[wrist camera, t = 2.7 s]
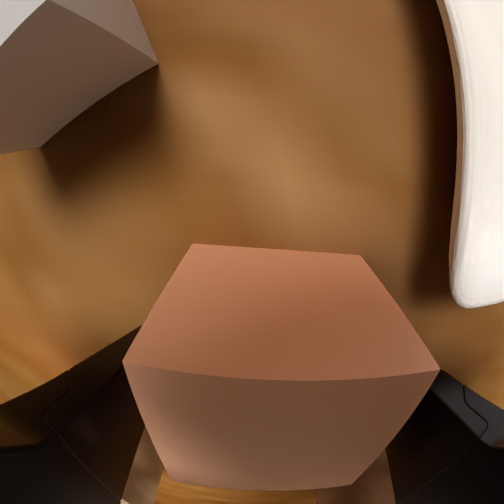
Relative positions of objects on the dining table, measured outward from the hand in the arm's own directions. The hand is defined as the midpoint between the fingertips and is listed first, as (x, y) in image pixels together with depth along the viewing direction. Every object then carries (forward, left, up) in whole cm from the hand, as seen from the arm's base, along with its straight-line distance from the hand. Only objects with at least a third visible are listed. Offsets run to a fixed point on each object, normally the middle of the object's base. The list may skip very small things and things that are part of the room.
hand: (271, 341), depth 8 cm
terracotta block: (0, 0, -1) cm, 1 cm away
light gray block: (+9, +7, -1) cm, 11 cm away
